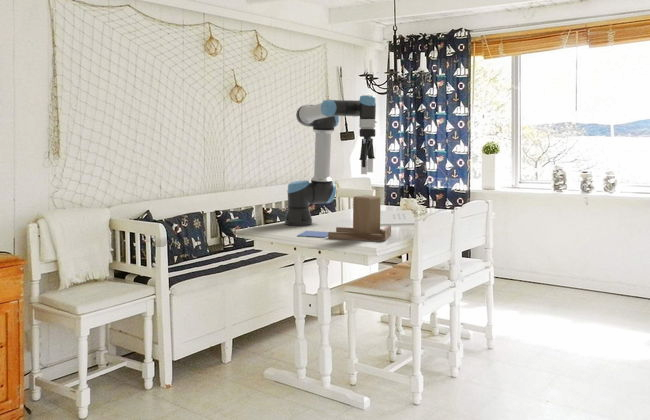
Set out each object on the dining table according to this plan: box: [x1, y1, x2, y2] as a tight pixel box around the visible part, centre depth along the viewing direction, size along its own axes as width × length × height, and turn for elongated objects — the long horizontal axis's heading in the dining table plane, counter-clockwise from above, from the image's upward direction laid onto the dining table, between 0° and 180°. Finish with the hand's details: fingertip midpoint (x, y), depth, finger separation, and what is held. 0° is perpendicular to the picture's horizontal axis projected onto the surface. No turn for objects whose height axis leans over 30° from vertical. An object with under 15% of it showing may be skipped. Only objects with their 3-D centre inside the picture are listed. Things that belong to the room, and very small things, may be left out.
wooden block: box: [352, 194, 382, 234], centre depth 307 cm, size 10×10×20 cm
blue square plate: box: [297, 230, 329, 239], centre depth 315 cm, size 14×14×1 cm
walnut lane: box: [327, 225, 392, 242], centre depth 309 cm, size 16×28×5 cm, turn 74°
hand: (367, 173), depth 304 cm, fingers open, 13 cm apart
